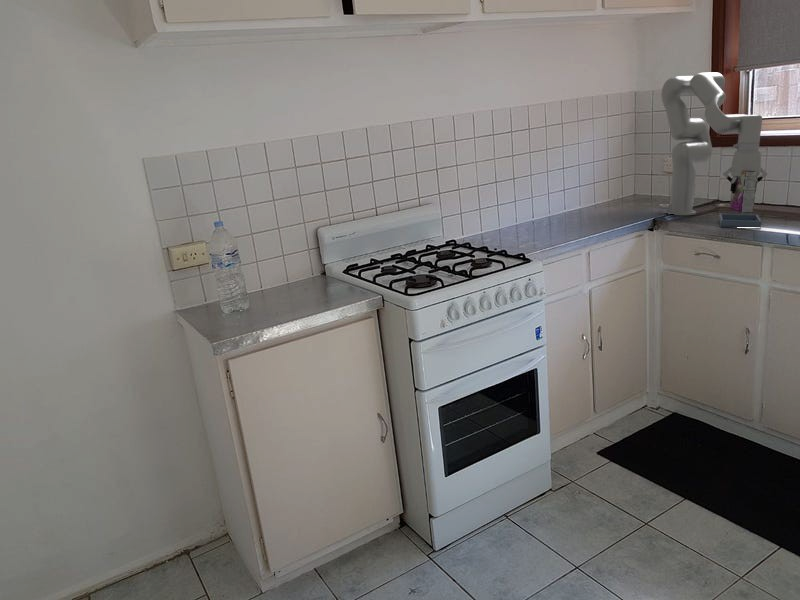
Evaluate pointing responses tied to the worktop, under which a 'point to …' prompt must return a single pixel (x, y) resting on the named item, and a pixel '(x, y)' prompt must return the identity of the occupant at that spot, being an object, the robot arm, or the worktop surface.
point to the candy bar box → (744, 192)
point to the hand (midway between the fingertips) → (742, 192)
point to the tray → (739, 220)
